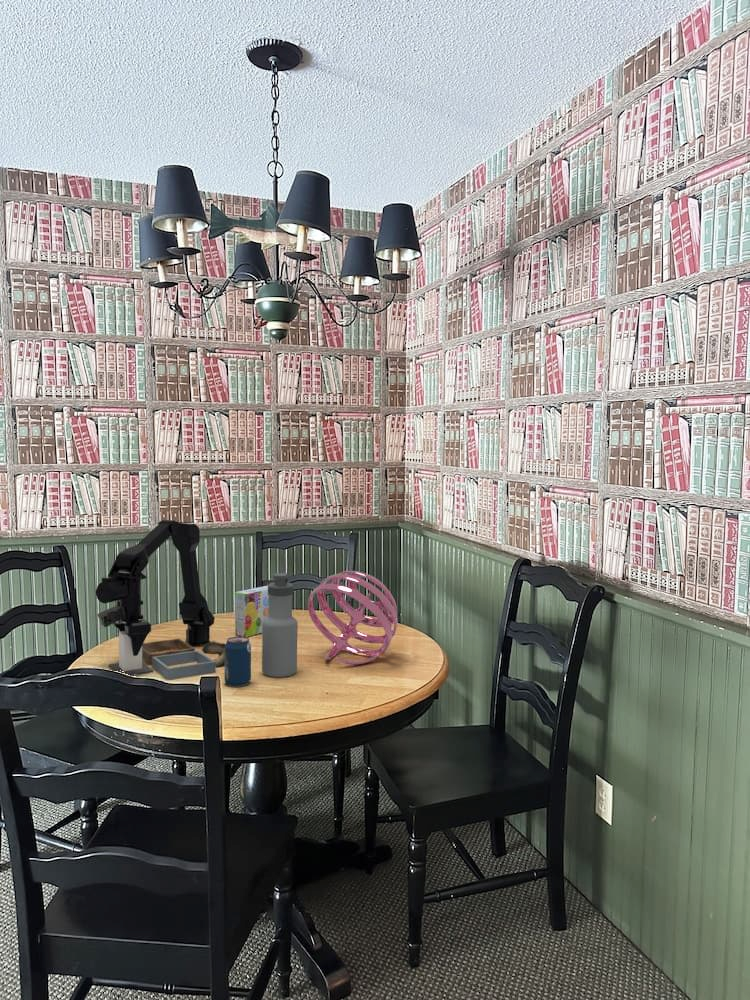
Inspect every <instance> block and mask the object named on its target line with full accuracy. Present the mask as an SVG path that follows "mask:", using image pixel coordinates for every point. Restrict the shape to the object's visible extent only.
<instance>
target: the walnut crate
mask: <svg viewBox="0 0 750 1000" xmlns="http://www.w3.org/2000/svg"><path fill="white" fill-rule="evenodd" d="M171 649H173V650H171ZM178 649H179V650H178ZM164 650H166V651H164ZM156 651H159V652H156ZM190 651H196V648H195V647H194V646H191V645H189V644H188V643H186V641H184V640H183V639H181V638H172V639H165V640H158V641H150V642H144V643H143V645H142V659H143V660H144V661H143V660H142V661H143V662H144V663H145V664H146V665H148V664H149V666H152V657H155V656H162V655H169V654H176V653H183V652H190ZM149 652H151V653H149Z"/></svg>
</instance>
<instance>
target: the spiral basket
mask: <svg viewBox="0 0 750 1000" xmlns="http://www.w3.org/2000/svg"><path fill="white" fill-rule="evenodd" d="M362 578H365V579H367V581H366V580H365V579H362ZM330 580H331V583H327V582H328V581H330ZM340 580H346V581H347V585H343V584H340ZM368 580H370V581H371V582H373V583H374V584H376V585H377V586H378V587H379V588H380V589H382V591H383V592H384V593H383V592H382V591H381V590H379V589H378V588H377V587H376V586H375V585H373V584H371V583H370V582H368ZM357 585H359V586H361V587H363V588H365V589H367V590H368V591H369V592H368V594H367V595H364V594H363V593H361V592H360V591H359V590H358V587H357ZM325 591H326V592H331V594H332V595H333V598H334V600H335V601H336V603H337V604H338V606H339V607H340V608H341V610H343V611H344V613H346V614H347V615H348V616H349V618H350V620H349V622H348V623H346V622H344V621H343V620H342V619H340V618H339V617H338V616H337V615H336V613H334V611H333V610H332V608H331V607H330V606H329V604H328V603H327V600H326V596H325ZM371 593H372V594H373V595H374V596H376V597H377V598H378V599H379V601H374V600H371V599H370V596H371ZM315 594H316V596H317V602H318V605H319V607H320V609H321V610H322V612H323V614H324V616H325V617H326V618H327V619H328V620H329V621H330V622H331V623H332V624H333V625H334V626H335V627H336V628H337V629H339V630H340V632H341V634H340V635H339V636H336V635H335V634H333V633H332V632H331V631H330V630H329V629H328V628H327V627H326V625H324V624H323V623H322V621H321V620H320V618H319V617H318V616H317V613H316V611H315V609H314V606H313V597H314V596H315ZM342 594H343V595H346V596H348V597H350V598H351V599H354V600H356V601H357V602H359V607H358V608H357V609H356V608H354V607H352V606H351V605H350V604H349V603H348V602H347V600H346V599H345V598H344V596H343V595H342ZM366 608H367V609H368V610H369V611H370V612H371V613H372V614H373V615H374V617H376V618H374V617H370V616H368V615H365V614H364V611H365V609H366ZM307 610H308V611H307V612H308V613H309V617H310V619H311V621H312V622H313V624H314V625H315V627H316V628H317V630H318V631H319V632H320V633H321V634H322V635H323V636H324V637H325V639H327V640H328V641H330V642H331V643H332V647H331V649H330V650H329V651H328V653H327V654H326V655H325V656H324V658H325V659H326V660H327V661H331V660H332V659H333V658H335V660H337V661H338V662H340V663H344V664H347V665H351V666H360V665H359V664H362V665H366V664H369V663H370V662H373V661H375V660H376V659H377V658H378V657H380V656H381V655H382V654H383V653H385V652H386V651H387V649H388V648H389V647H390V645H391V643H392V640H393V637H394V636H395V634H396V633H397V629H398V607H397V603H396V601H395V598H394V597H393V594H392V593H391V591H390V590H389V589H388V588H387V587H386V585H385V584H384V583H383V582H382V581H381V580H379V579H378V578H377V577H375V576H373V575H371V574H368V573H366V572H365V573H364V572H361V571H357V570H345V571H344V570H343V571H341V572H339V573H335V574H332V575H329V576H328V577H326V578H325V579H323V580H322V581H321V582H320V583H319V585H318V586H317V587H315V588H314V589H313V591H311V592H310V594H309V597H308V600H307ZM383 611H384V612H383ZM358 624H364V625H366V626H368V627H373V628H383V630H384V632H385V633H384V634H383V635H371V634H366V633H364V632H361V631H359V630H357V625H358ZM392 626H393V629H392ZM350 638H352V639H355V640H358V641H361V642H364V643H368V644H382V645H381V646H380V647H379V648H378V649H376V650H375V649H374V650H370V649H363V648H359V647H356V646H354V645H351V644H350V643H348V642H349V640H350ZM340 651H345V652H348V653H350V652H355V653H363V654H366V655H369V657H370V658H368V659H365V660H362V661H361V660H359V661H353V660H352V661H351V660H348V659H344V658H342V657H339V656H335V657H333V656H334V655H335V654H337V655H338V654H339V652H340ZM332 657H333V658H332ZM331 658H332V659H331ZM368 662H369V663H368ZM365 663H366V664H365Z"/></svg>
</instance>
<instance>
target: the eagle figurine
mask: <svg viewBox="0 0 750 1000" xmlns="http://www.w3.org/2000/svg"><path fill="white" fill-rule="evenodd" d="M225 644H226V643H221V642H217V641H210V642H209V643H207V644H206V645H203V646H202V648H201V653H203V654H205V655H206V654H208V655H218V656H217V657H216V658H214V659H213V660H214V661H215V662H216V668H218V667H219V666H221V665H222V664H225Z"/></svg>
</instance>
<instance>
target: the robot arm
mask: <svg viewBox="0 0 750 1000" xmlns="http://www.w3.org/2000/svg"><path fill="white" fill-rule="evenodd" d="M200 531H201V530H200V528H199V526H198V525H197V524H196V523H188V522H187V523H186V522H179V521H176V520H173V519H162V520H159V521H158V524H157V525H156V526H155V527H154V528H153V529H152V530H151V531H150V532H149V533H148V534H147V535H145V536H144V537H143V538H142V539H141V540H140V541H139V542H138V543H136V544H135V545H133V546H130V547H127V548H124V549H123V550H122V551H121V552H119V553H118V554H117V555H116V557H115V560H114V562H113V564H112V565H111V567H110V571H109V572H108V574H107V577H106V576H105V577H102V578H101V582H100V583H99V584H98V585H97V587H96V589H95V596H96V598H97V600H98V601H99V602H100V603H101V604H109V603H114V602H116V605H115V606H112V607H109V608H107V609H105V610H103V611H101V612H98V613H97V618H98V619H99V622H100V625H101V626H103V627H104V628H108V627H110V626H111V625H113V626H114V627H115V628H117V630H118V633H119V632H120V631H125V632H126V633H125V634H126V635H128V636H129V637H130V640H131V646H132V652H133V656H137V655H138V653H139V651H140V649H141V647H142V645H143V643H145V641H146V639H147V636H148V635H149V634H150V633H151V632H152V624H151V623H150V622H149V621H147V620H146V619H144V615H143V614H142V606H143V605H144V600H142V580H146V579H147V576H146V575H145V574H144V573H143V571H144V569H145V568H147V565H148V564H149V562H150V557H151V555H153V554H154V553H155V552H156V551H157V549H159V548H160V547H161V546H162V545H163V544H164V543H165V542H166V541H167V540H168V539H169V538H171V541H172V544H173V546H174V547H175V549H176V550H177V552H179V553H178V554H179V559H180V568H181V577H182V586H183V593H184V596H183V598H182V600H181V601H180V602H178V608H179V615H180V617H181V619H182V623H183V625H187V629H185V643H187V644H189V645H190V646H192V647H199V646H204V645H206V644H207V643H209V642H211V640H210V638H211V637H210V629H211V628H210V627H212V626H213V625H214V624H215V619H216V618H215V616H214V614H213V613H212V612H211V611H210V610H209V605H208V601H207V600H206V598H205V596H204V595H203V594H202V592H201V591H202V590H201V585H200V577H199V567H198V559H197V551H196V550H197V547H198V546H199V545H200V542H201V541H200V540H201V539H200V538H201V537H200V535H201V533H200Z"/></svg>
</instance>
